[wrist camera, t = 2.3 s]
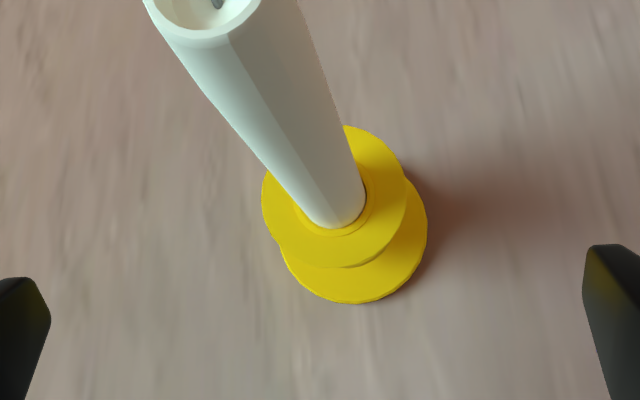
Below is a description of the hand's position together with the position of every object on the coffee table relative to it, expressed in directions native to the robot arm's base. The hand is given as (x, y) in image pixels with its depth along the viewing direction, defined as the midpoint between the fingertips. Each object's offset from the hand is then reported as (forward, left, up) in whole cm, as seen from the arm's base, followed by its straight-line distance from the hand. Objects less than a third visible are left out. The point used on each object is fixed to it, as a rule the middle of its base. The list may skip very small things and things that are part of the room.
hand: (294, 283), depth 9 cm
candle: (+3, 0, -11) cm, 11 cm away
